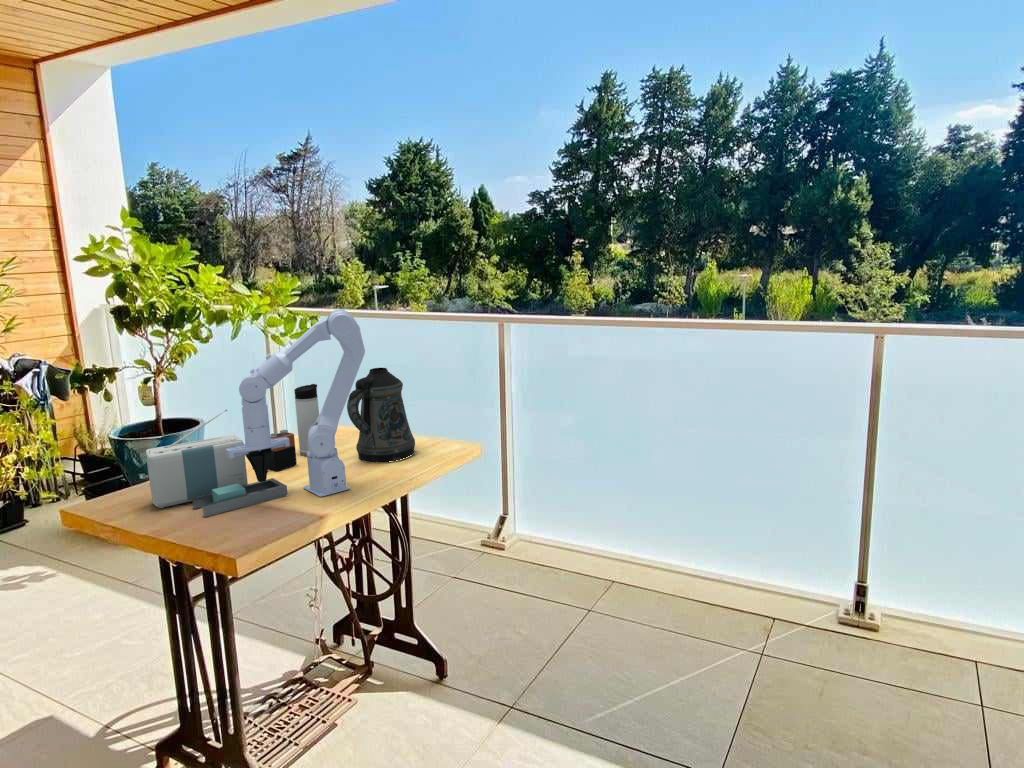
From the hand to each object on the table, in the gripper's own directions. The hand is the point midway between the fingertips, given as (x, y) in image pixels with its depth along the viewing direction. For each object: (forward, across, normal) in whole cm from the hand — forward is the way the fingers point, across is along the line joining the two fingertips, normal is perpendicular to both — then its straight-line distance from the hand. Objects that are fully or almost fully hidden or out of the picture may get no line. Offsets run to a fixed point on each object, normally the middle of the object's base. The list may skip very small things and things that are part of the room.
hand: (261, 480), depth 167 cm
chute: (+4, +6, 0) cm, 7 cm away
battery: (+4, -13, -19) cm, 23 cm away
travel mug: (+4, -25, -26) cm, 36 cm away
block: (+4, +8, 0) cm, 9 cm away
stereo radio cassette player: (+4, +11, -11) cm, 16 cm away
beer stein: (+4, -38, -7) cm, 39 cm away
